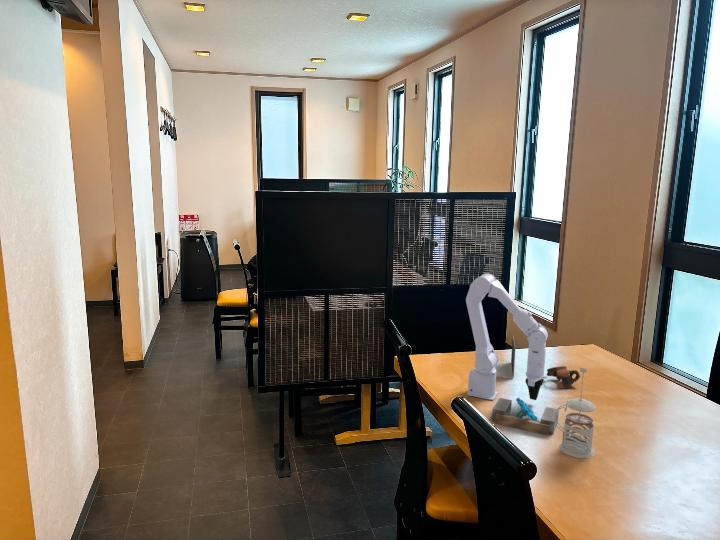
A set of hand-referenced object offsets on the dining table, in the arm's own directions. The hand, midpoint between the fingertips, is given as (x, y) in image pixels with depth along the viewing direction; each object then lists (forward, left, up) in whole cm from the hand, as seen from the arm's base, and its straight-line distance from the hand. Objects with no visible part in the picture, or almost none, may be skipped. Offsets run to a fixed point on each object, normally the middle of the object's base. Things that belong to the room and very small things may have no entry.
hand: (533, 398), depth 182 cm
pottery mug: (+7, +24, -2) cm, 25 cm away
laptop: (-19, +28, -2) cm, 34 cm away
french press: (+16, -26, -2) cm, 31 cm away
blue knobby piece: (+1, -14, -2) cm, 15 cm away
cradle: (0, -15, -2) cm, 15 cm away
